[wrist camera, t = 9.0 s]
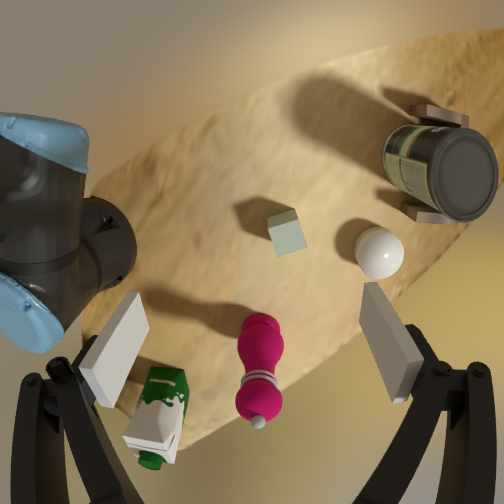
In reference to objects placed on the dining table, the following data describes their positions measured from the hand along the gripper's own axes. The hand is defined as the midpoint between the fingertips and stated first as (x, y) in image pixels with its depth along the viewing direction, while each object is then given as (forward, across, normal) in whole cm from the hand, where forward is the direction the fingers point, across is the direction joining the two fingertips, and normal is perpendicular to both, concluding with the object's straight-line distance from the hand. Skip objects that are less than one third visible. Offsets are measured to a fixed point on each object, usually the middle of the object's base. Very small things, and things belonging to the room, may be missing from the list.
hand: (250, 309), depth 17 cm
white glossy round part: (+26, +18, -8) cm, 32 cm away
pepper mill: (+26, 0, -22) cm, 34 cm away
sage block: (+26, +4, -4) cm, 27 cm away
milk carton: (+26, -20, -35) cm, 48 cm away
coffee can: (+26, +23, +6) cm, 35 cm away
